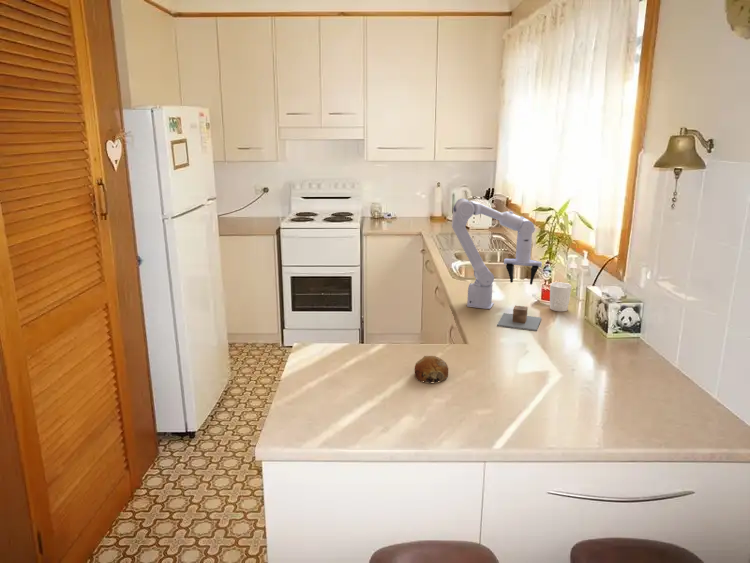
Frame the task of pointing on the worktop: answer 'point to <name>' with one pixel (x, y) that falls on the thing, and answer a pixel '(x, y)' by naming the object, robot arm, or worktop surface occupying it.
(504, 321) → the coaster mat
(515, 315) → the walnut block
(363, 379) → the worktop surface
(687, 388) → the worktop surface
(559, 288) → the white cup
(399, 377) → the worktop surface
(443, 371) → the brown rounded dome
